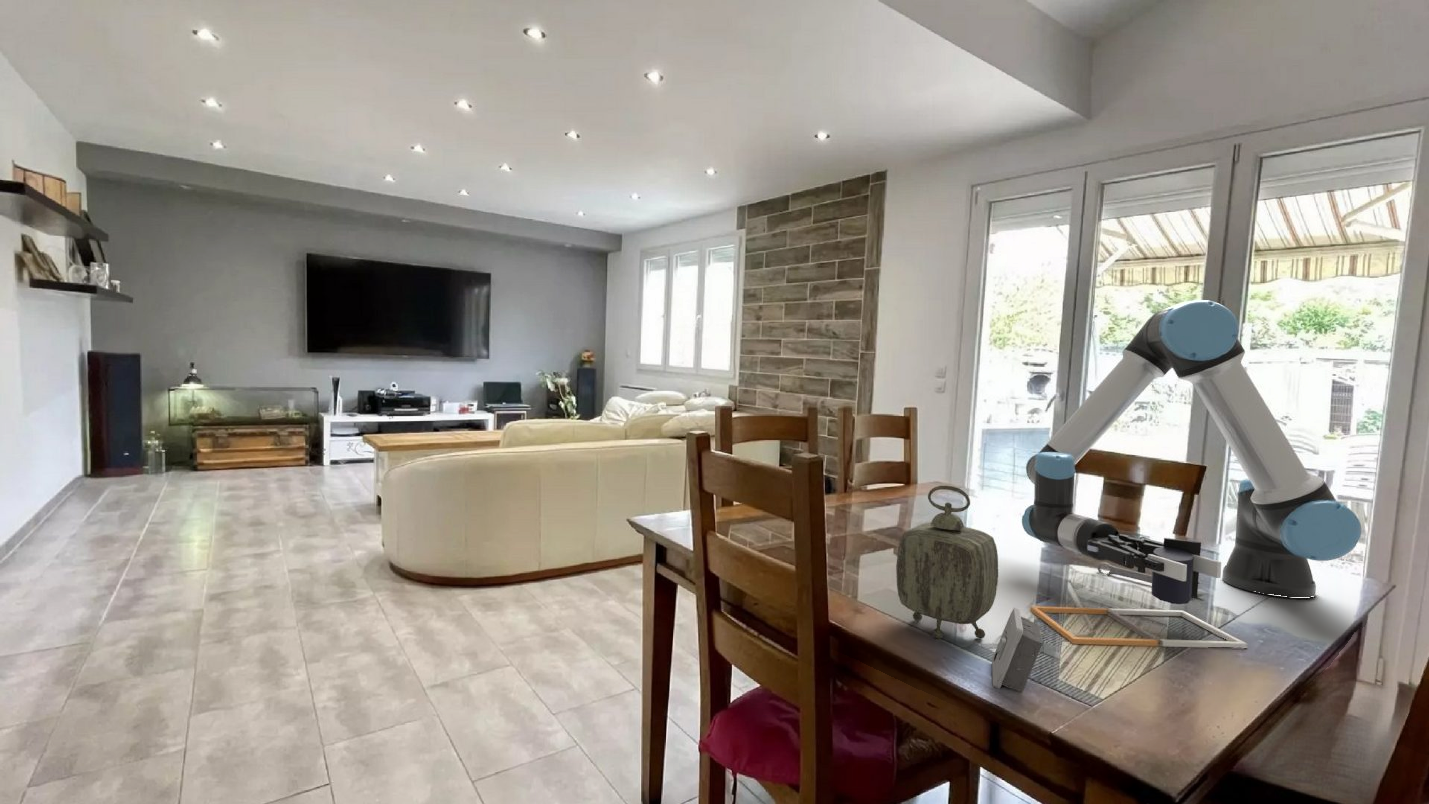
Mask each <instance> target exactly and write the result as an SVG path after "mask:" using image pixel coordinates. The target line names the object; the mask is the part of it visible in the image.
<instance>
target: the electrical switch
mask: <svg viewBox="0 0 1429 804" xmlns="http://www.w3.org/2000/svg"><path fill="white" fill-rule="evenodd" d="M1021 614H1022V613H1021V609H1018V608H1015V607H1013V609H1012V610H1011V612H1010V614H1009V617H1008V619H1007V622H1006V624H1005V625H1004V628H1003V631H1002V633H1001V636H1000V638H999V641H998V644H997V646H996V649H995V651H994V653H993V656H992V660H991V668H992V669H991V674H992V687H994V688H996V689H998V690H1000V689H1001V687H1002V685H1003V686H1005V687H1007V688H1009V689H1013V690H1015V691H1017V692H1018V693H1019V692H1020V693H1021V694H1022V693H1023V692H1024V690H1025V687H1026V684H1027V682H1028V680H1029V678H1030V675H1031V673H1032V670H1033V668H1034V666H1035V663H1036V661H1037V658H1038V656H1039V653H1040V651H1041V648H1042V646H1043V639H1042V635H1041V629H1040V625H1039V623H1038V622H1034V621H1032V620H1029V619H1028V618H1026V617H1025V616H1021Z"/></svg>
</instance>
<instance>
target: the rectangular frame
mask: <svg viewBox="0 0 1429 804" xmlns="http://www.w3.org/2000/svg"><path fill="white" fill-rule="evenodd" d="M1029 607H1030V609H1029V611H1030V612H1031V613H1033V614H1034V615H1035V616H1037V617H1038V618H1039V619H1040V620H1042V621H1044V622H1045V623H1046V624H1047V625H1048V626H1050V627H1051V628H1052V629H1053V630H1055V631H1056V632H1057V633H1059V634H1060V635H1061V636H1062V637H1064V638H1065V639H1066V640H1068V641H1069V642H1070V643H1072V644H1073V645H1101V646H1104V645H1106V646H1108V645H1109V646H1135V647H1136V646H1137V647H1139V646H1142V647H1144V646H1145V647H1170V648H1171V647H1175V648H1178V647H1179V648H1181V647H1182V648H1208V647H1243V648H1242V649H1244V648H1247V649H1248V643H1246V642H1244V640H1241V639H1239V638H1237V637H1235V636H1233V635H1231V634H1229V633H1227V632H1225V631H1223V630H1222V629H1219V628H1217V627H1216V626H1214V625H1212V624H1210V623H1208V622H1206V621H1205V620H1202V619H1200V618H1198V617H1197V616H1194V615H1193V614H1190V613H1188V612H1187V611H1185V610H1183V609H1182V610H1179V609H1177V610H1176V609H1175V610H1174V609H1147V608H1146V609H1144V608H1143V609H1142V608H1110V607H1109V608H1108V607H1105V608H1103V607H1072V606H1071V607H1070V606H1069V607H1067V606H1066V607H1065V606H1040V605H1039V606H1038V605H1037V606H1035V605H1034V606H1033V605H1032V606H1031V605H1030V606H1029ZM1046 613H1048V614H1049V613H1051V614H1052V613H1053V614H1055V613H1057V614H1083V615H1084V614H1090V615H1091V614H1093V615H1108V616H1109V617H1110V618H1112V619H1114V620H1115V621H1117V622H1119V623H1120V624H1121V625H1123V626H1125V627H1126V628H1128V629H1130V630H1132V632H1134V633H1137V634H1138V635H1140V636H1141V637H1142V638H1123V637H1122V638H1119V637H1087V636H1086V637H1083V636H1082V637H1080V636H1075V635H1074V634H1072V633H1071V632H1070V631H1068V630H1067V629H1066V628H1064V627H1063V626H1062V625H1061V624H1059V623H1058V622H1056V621H1055V620H1054V619H1052V618H1051V617H1050V616H1048V615H1047V614H1046ZM1122 615H1124V616H1126V615H1127V616H1128V615H1129V616H1132V615H1133V616H1158V617H1159V616H1162V617H1163V616H1164V617H1168V616H1169V617H1182V618H1184V619H1185V620H1188V621H1190V622H1192V623H1194V624H1196V625H1197V626H1199V627H1201V628H1203V629H1205V630H1207V631H1208V632H1210V633H1212V634H1214V635H1215V636H1218V637H1220V638H1221V637H1222V639H1223V638H1224V639H1223V640H1194V639H1193V640H1192V639H1190V640H1189V639H1188V640H1187V639H1160V638H1158V637H1156V636H1155V635H1153V634H1151V633H1150V632H1148V631H1147V630H1146V629H1143V628H1142V627H1140V626H1139V625H1138V624H1136V623H1133V622H1132V621H1131V620H1129V619H1127V618H1125V617H1124V616H1122ZM1225 639H1226V640H1225ZM1224 640H1225V641H1224Z"/></svg>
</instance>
